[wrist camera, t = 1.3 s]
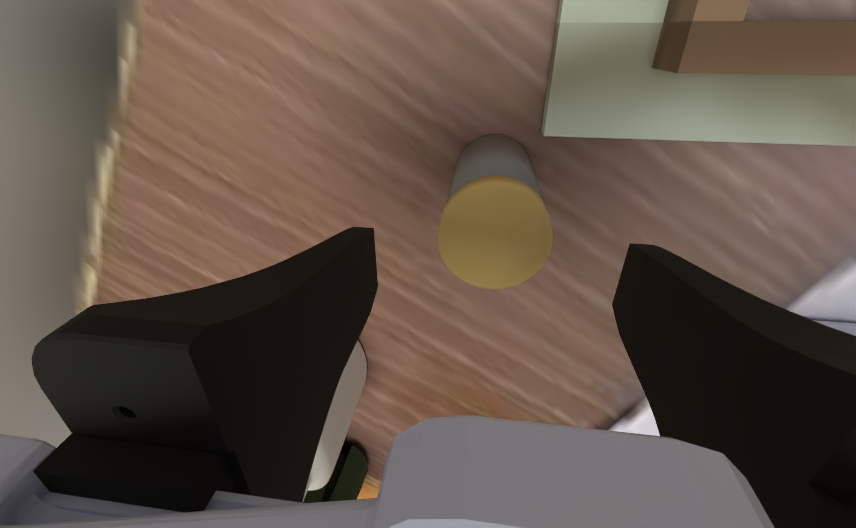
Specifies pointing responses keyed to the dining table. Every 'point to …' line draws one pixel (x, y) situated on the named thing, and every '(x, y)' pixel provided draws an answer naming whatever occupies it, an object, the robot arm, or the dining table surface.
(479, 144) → the yellow capped shaker
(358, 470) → the character mug
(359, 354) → the eye dropper bottle
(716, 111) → the holder
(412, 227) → the dining table surface
